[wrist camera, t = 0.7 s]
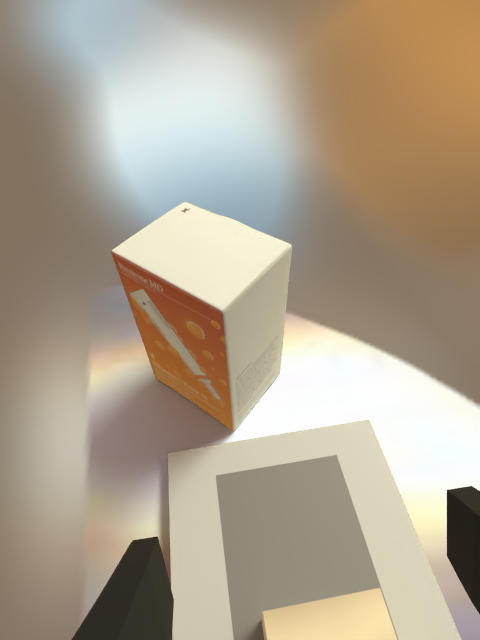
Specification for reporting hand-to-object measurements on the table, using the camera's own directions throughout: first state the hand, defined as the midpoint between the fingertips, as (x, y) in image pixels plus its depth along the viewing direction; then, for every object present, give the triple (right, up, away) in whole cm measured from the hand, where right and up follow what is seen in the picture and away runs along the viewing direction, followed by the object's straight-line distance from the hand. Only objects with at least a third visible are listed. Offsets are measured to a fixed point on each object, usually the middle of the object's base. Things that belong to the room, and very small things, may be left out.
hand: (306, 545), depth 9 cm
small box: (-3, +1, +21) cm, 21 cm away
